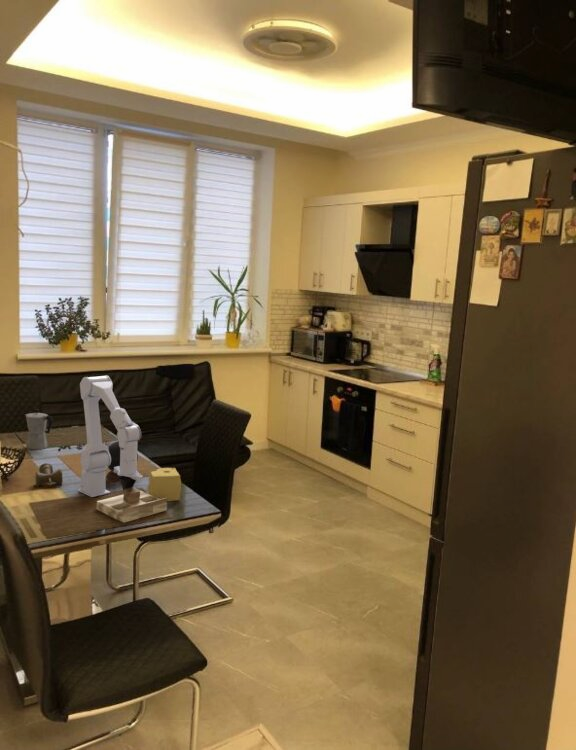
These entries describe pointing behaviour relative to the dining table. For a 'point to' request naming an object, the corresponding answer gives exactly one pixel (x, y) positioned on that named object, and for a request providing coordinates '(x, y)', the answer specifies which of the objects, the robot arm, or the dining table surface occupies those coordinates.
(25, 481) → the dining table surface
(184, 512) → the dining table surface
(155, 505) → the divided wooden tray
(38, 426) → the coffeepot
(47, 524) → the dining table surface
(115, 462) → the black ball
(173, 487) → the cheese
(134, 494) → the walnut cube
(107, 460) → the robot arm
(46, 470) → the kendama
